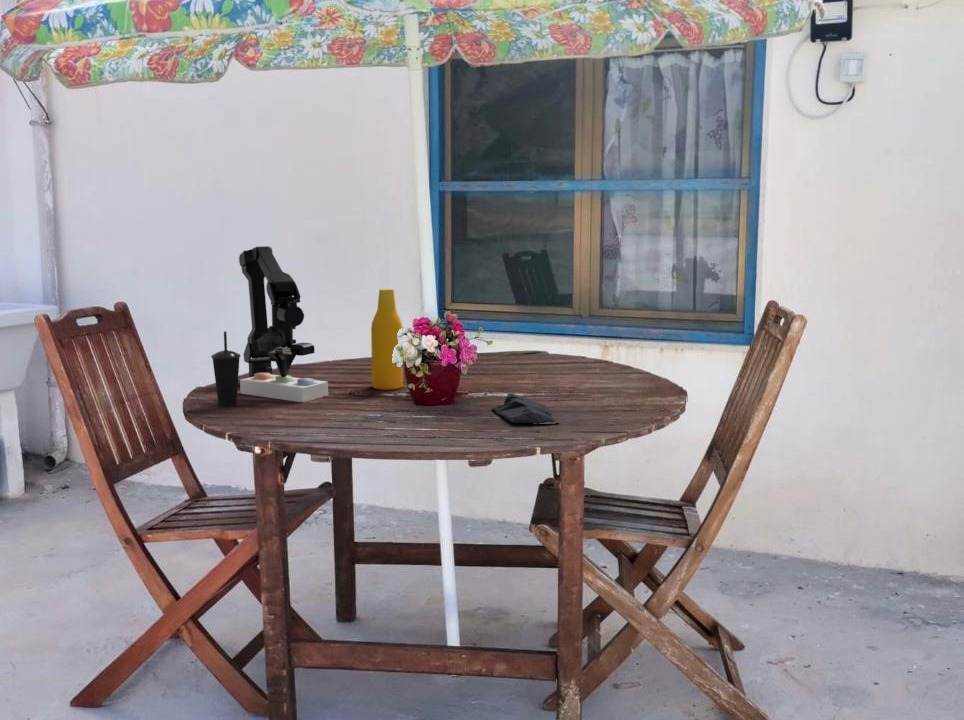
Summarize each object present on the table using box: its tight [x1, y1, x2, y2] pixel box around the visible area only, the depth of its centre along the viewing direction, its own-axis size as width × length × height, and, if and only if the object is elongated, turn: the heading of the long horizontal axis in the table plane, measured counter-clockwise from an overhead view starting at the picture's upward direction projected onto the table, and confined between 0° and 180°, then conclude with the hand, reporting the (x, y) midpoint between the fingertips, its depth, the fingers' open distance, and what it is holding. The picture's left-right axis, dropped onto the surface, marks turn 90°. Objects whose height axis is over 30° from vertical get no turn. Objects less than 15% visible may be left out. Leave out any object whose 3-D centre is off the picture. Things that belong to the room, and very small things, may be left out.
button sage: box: [276, 374, 293, 383], centre depth 304 cm, size 5×5×5 cm
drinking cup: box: [210, 331, 241, 407], centre depth 289 cm, size 8×8×20 cm
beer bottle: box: [370, 288, 404, 391], centre depth 314 cm, size 9×9×29 cm
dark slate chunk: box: [491, 392, 557, 425], centre depth 279 cm, size 15×22×5 cm
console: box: [239, 373, 329, 403], centre depth 304 cm, size 23×11×4 cm, turn 59°
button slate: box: [297, 377, 315, 386], centre depth 300 cm, size 5×5×5 cm
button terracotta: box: [254, 372, 271, 380], centre depth 308 cm, size 5×5×5 cm
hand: (283, 376), depth 304 cm, fingers closed, pressing on button sage
